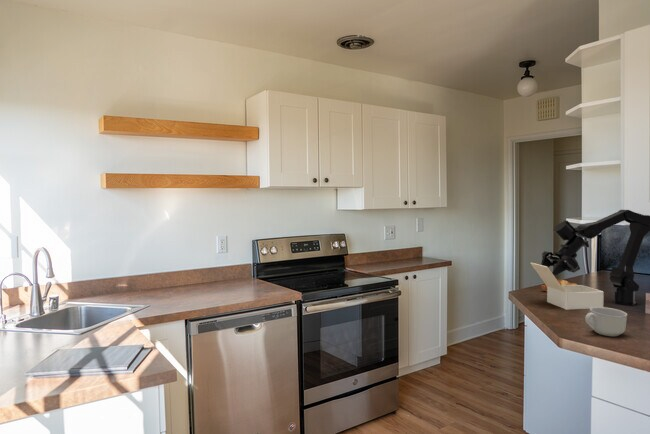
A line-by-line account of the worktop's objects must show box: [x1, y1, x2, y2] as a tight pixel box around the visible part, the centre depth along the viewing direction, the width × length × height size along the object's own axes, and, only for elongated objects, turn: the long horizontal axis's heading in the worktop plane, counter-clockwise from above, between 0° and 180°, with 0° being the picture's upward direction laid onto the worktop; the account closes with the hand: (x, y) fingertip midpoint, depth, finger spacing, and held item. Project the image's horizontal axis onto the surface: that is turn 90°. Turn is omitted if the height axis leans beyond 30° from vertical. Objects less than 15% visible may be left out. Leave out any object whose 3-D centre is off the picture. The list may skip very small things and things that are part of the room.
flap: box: [529, 262, 565, 292], centre depth 192 cm, size 13×13×1 cm
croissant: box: [540, 279, 578, 292], centre depth 217 cm, size 21×10×8 cm, turn 60°
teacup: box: [584, 306, 628, 337], centre depth 152 cm, size 14×11×8 cm
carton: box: [546, 284, 604, 311], centre depth 193 cm, size 16×15×7 cm
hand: (545, 274), depth 192 cm, fingers open, 9 cm apart
